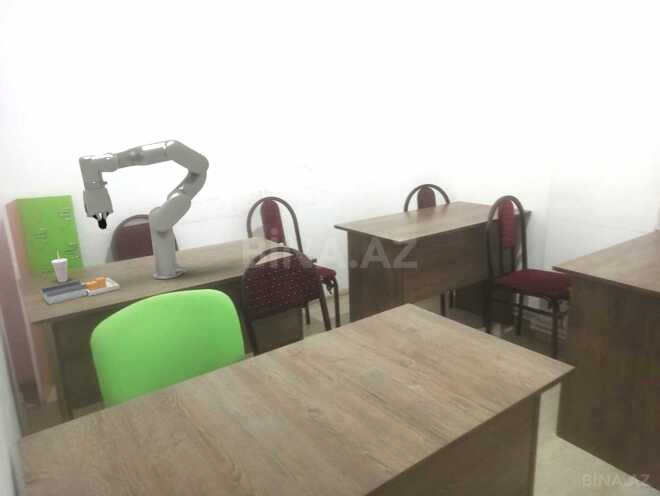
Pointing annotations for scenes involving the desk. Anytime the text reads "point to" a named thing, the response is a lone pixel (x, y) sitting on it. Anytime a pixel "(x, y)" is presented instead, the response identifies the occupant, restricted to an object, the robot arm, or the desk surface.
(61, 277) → the smoothie
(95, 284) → the chip
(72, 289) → the slot block
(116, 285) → the tray
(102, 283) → the orange square block
